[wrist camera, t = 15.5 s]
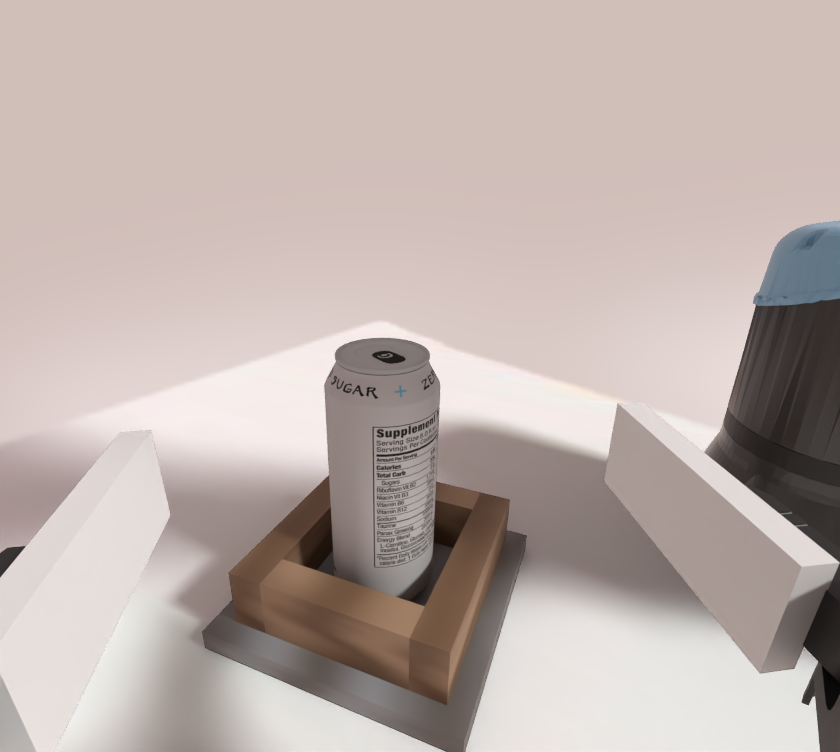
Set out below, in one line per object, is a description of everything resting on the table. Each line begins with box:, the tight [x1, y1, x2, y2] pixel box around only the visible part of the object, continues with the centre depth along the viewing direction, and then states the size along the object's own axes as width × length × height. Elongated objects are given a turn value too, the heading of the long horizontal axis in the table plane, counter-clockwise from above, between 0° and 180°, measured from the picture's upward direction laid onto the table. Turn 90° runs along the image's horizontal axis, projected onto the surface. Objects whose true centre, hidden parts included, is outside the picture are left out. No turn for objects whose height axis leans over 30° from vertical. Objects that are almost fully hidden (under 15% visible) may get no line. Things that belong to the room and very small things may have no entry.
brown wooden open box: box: [202, 476, 527, 752], centre depth 31 cm, size 15×15×5 cm
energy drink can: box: [324, 338, 440, 601], centre depth 29 cm, size 6×6×15 cm
